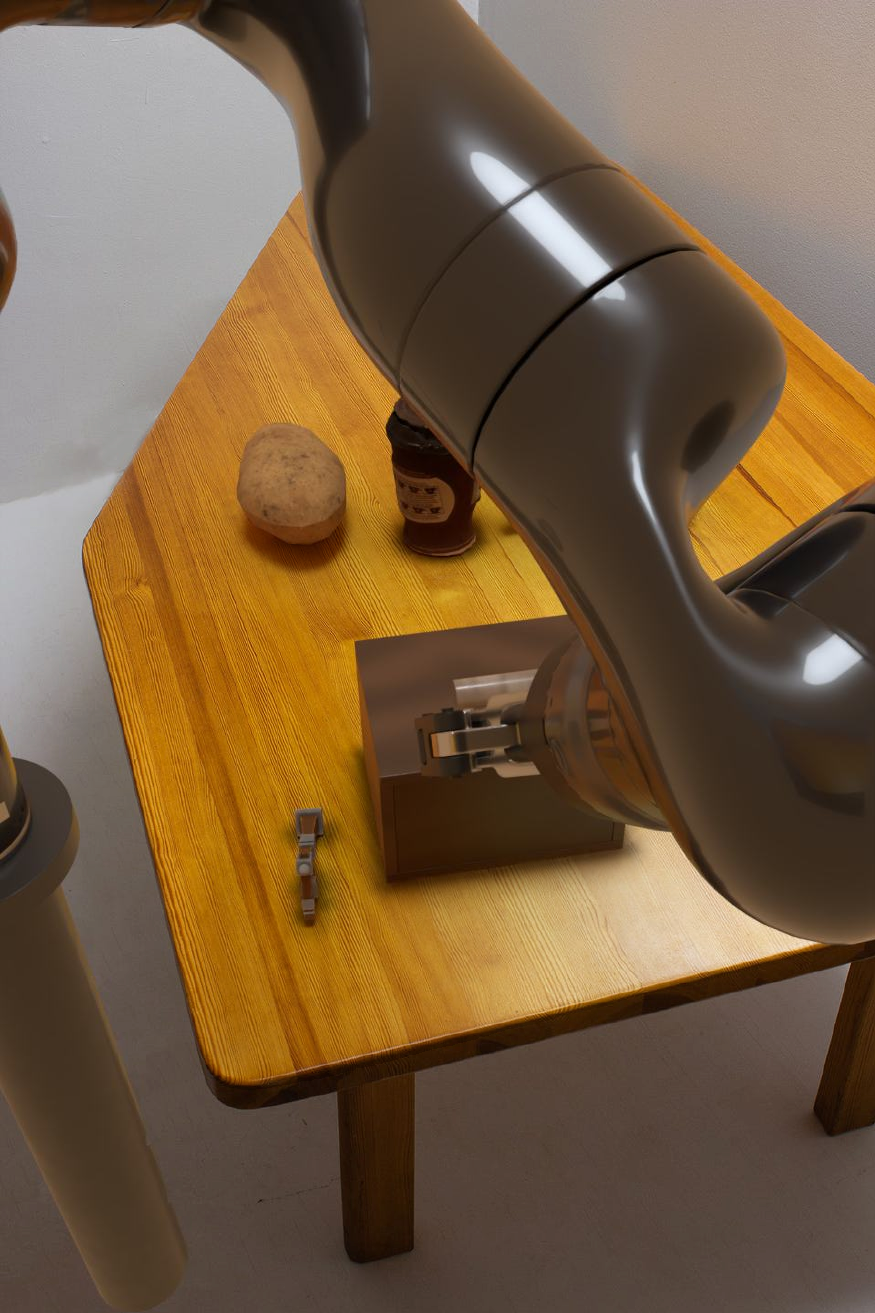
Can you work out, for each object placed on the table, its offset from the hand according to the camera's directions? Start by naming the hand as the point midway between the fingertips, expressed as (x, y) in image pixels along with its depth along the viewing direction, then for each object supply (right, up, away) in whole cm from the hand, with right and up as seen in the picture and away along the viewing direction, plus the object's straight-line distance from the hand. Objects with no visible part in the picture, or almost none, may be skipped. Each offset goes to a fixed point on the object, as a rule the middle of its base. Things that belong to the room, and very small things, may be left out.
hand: (558, 728), depth 57 cm
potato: (-18, +15, +51) cm, 56 cm away
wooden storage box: (-2, -6, +26) cm, 27 cm away
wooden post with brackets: (-14, -11, +22) cm, 28 cm away
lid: (-2, +1, +19) cm, 19 cm away
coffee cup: (-5, +14, +49) cm, 52 cm away
